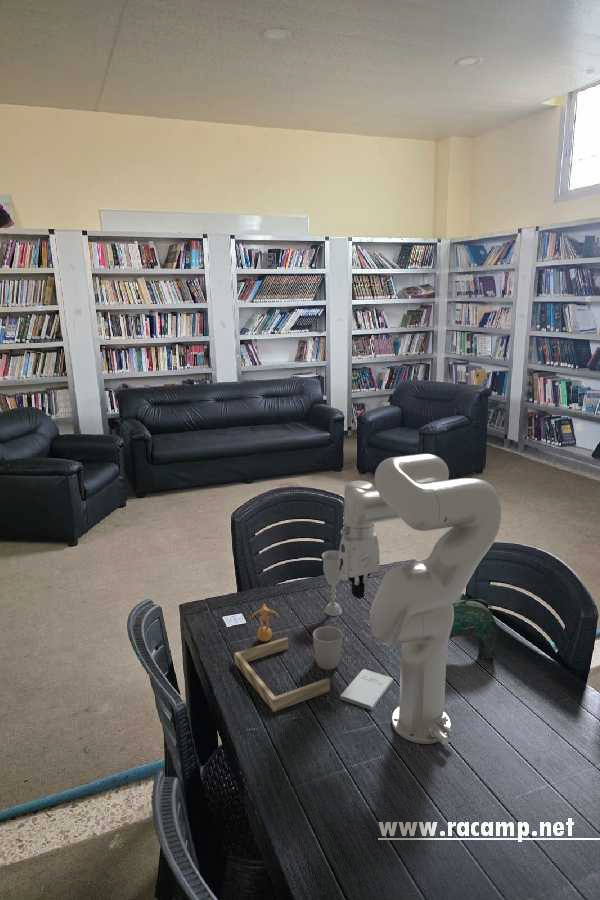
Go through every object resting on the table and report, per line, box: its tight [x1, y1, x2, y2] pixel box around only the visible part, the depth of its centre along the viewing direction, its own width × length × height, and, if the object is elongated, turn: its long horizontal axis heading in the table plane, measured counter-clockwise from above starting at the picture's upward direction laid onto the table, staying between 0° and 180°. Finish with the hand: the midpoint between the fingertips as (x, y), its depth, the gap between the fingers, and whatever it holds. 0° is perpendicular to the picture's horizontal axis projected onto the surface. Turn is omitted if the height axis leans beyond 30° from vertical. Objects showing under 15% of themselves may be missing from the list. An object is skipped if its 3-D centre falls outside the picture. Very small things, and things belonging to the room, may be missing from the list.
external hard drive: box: [339, 668, 394, 711], centre depth 148 cm, size 2×8×12 cm
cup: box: [312, 625, 344, 671], centre depth 159 cm, size 8×10×8 cm
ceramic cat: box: [449, 598, 499, 659], centre depth 158 cm, size 20×6×20 cm, turn 92°
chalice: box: [321, 549, 343, 617], centre depth 182 cm, size 7×7×18 cm
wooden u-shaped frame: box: [234, 636, 331, 713], centre depth 153 cm, size 22×15×3 cm
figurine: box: [248, 603, 281, 643], centre depth 167 cm, size 8×6×12 cm
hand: (357, 596), depth 161 cm, fingers closed
